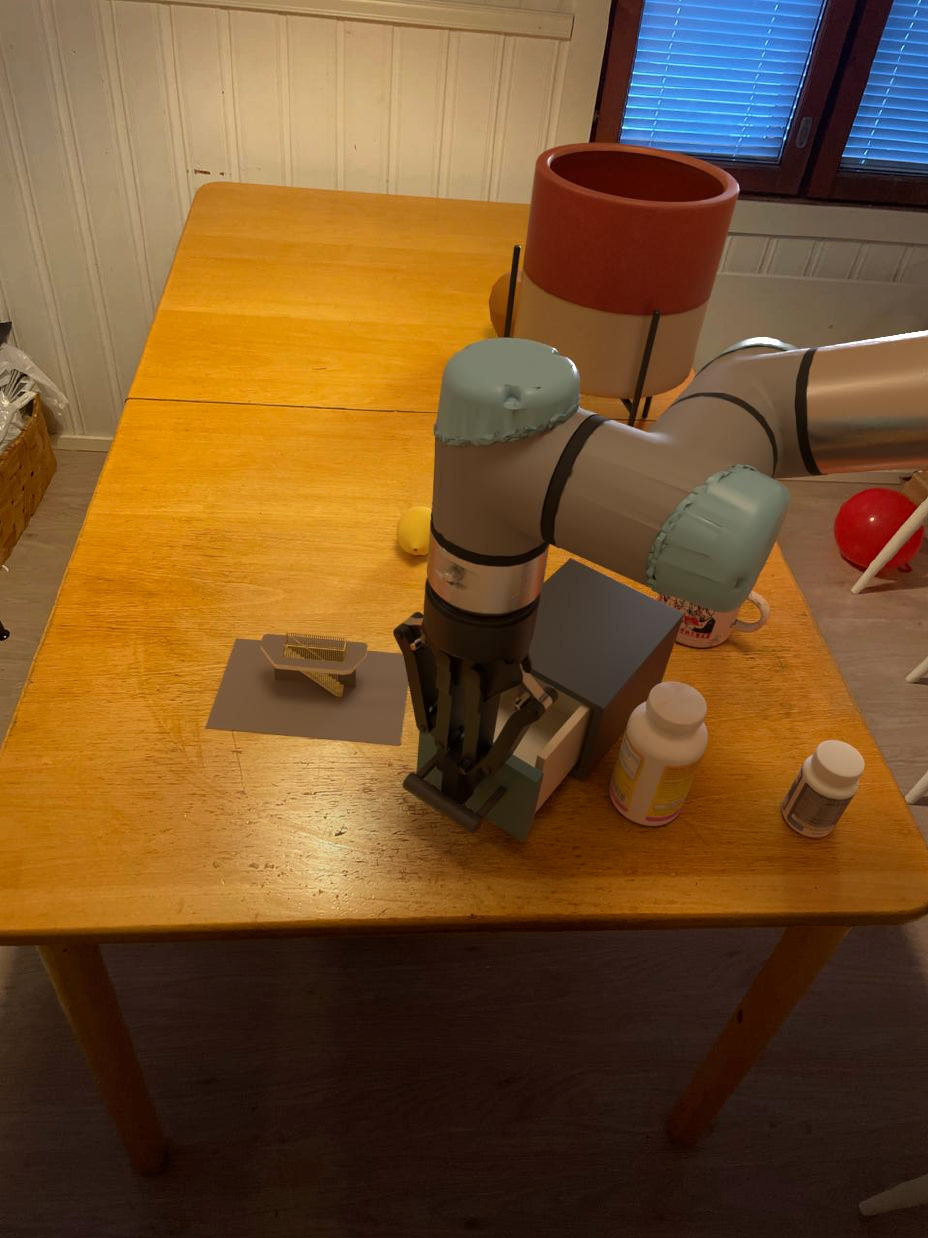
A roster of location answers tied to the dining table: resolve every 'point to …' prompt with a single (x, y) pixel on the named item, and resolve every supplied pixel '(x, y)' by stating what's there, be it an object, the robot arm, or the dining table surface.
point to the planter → (621, 264)
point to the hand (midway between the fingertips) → (456, 799)
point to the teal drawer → (511, 768)
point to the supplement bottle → (660, 754)
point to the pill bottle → (823, 788)
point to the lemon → (414, 530)
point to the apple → (503, 303)
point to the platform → (312, 689)
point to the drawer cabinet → (601, 650)
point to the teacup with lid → (712, 621)
